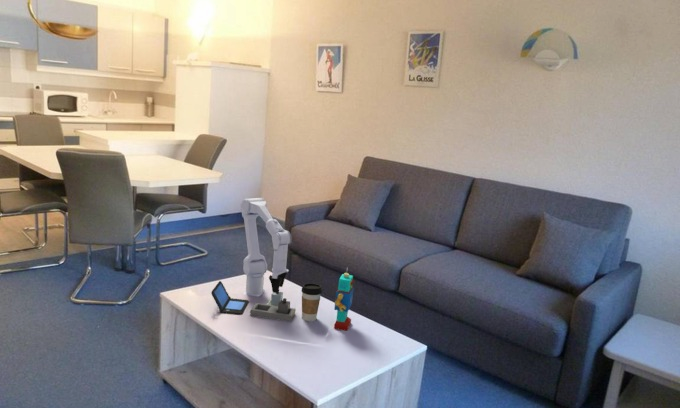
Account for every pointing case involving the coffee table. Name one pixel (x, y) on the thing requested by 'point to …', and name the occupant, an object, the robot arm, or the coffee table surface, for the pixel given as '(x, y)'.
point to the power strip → (271, 312)
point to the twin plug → (284, 306)
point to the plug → (276, 298)
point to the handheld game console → (227, 301)
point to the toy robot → (343, 301)
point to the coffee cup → (310, 301)
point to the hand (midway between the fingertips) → (277, 289)
